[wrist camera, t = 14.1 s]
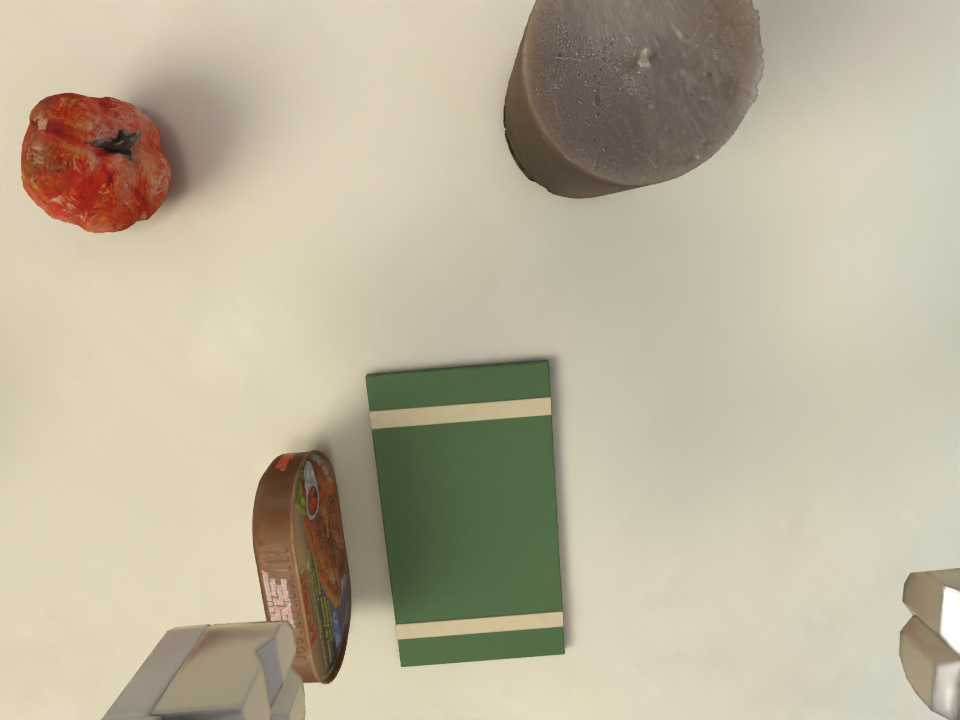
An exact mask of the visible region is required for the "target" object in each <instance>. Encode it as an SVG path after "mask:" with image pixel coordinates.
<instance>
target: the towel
mask: <svg viewBox="0 0 960 720" xmlns="http://www.w3.org/2000/svg"><path fill="white" fill-rule="evenodd" d="M365 378H366V386H367V394H368V402H369V410H370V412H369V414H370V422H371V429H372V434H373V443H374V451H375V459H376V467H377V475H378V483H379V491H380V499H381V507H382V515H383V523H384V532H385V540H386V548H387V556H388V564H389V572H390V580H391V588H392V596H393V604H394V613H395V621H396V632H397V640H398V645H399V653H400V661H401V667H407V666H420V665H433V664H445V663H458V662H471V661H483V660H496V659H509V658H521V657H534V656H547V655H559V654H565V649H564V631H563V611H562V595H561V578H560V560H559V542H558V524H557V506H556V488H555V471H554V453H553V435H552V417H551V415H552V412H551V397H550V382H549V364H548V361H547V360H540V361H528V362H515V363H503V364H491V365H478V366H466V367H453V368H441V369H428V370H416V371H403V372H391V373H378V374H367V375H366V377H365Z"/></svg>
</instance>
